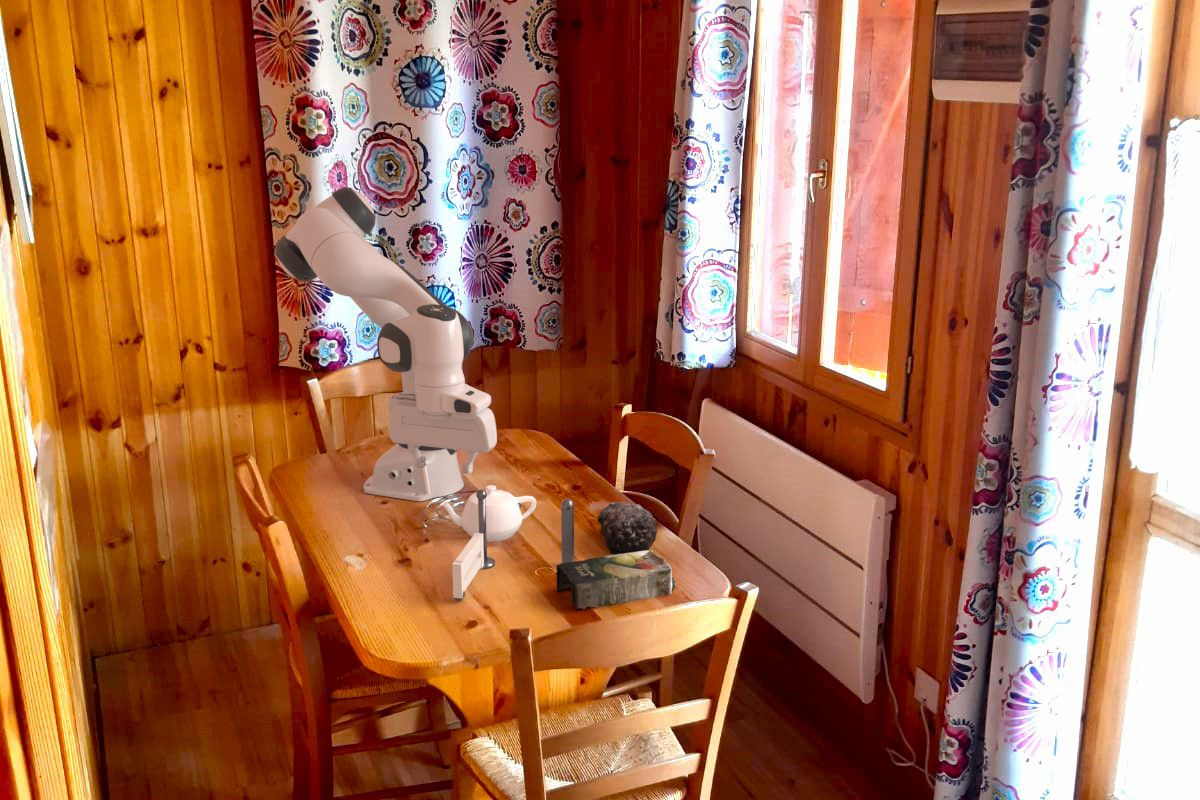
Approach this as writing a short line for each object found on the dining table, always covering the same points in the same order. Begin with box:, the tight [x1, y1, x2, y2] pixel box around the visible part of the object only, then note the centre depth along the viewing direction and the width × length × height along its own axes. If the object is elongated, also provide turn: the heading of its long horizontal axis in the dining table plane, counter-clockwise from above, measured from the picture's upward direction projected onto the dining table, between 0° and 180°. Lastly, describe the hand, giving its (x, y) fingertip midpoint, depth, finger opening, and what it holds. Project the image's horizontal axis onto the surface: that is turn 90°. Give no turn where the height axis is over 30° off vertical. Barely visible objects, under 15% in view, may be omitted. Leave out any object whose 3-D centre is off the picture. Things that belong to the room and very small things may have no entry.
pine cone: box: [597, 501, 658, 555], centre depth 216 cm, size 10×18×10 cm, turn 23°
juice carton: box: [555, 549, 676, 611], centre depth 197 cm, size 20×10×6 cm, turn 112°
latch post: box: [560, 498, 575, 563], centre depth 207 cm, size 2×2×14 cm
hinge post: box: [475, 488, 496, 570], centre depth 207 cm, size 4×4×15 cm
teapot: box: [439, 484, 537, 543], centre depth 222 cm, size 20×12×10 cm, turn 110°
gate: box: [451, 533, 484, 602], centre depth 199 cm, size 14×2×7 cm, turn 170°
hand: (443, 469), depth 198 cm, fingers open, 8 cm apart
